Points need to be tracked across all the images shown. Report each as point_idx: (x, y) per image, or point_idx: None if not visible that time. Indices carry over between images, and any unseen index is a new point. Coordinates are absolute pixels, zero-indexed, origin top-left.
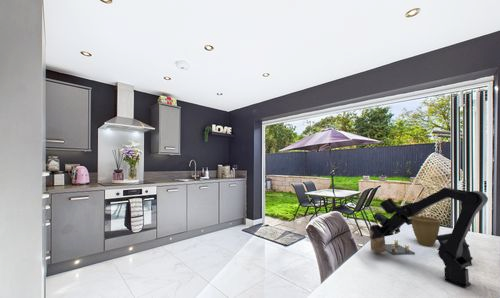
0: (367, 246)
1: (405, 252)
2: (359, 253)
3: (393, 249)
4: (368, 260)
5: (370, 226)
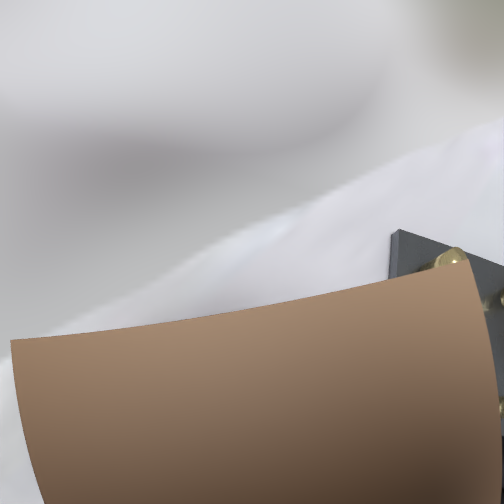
0: (297, 217)
1: None
2: (66, 332)
3: None
4: None
5: (20, 384)
